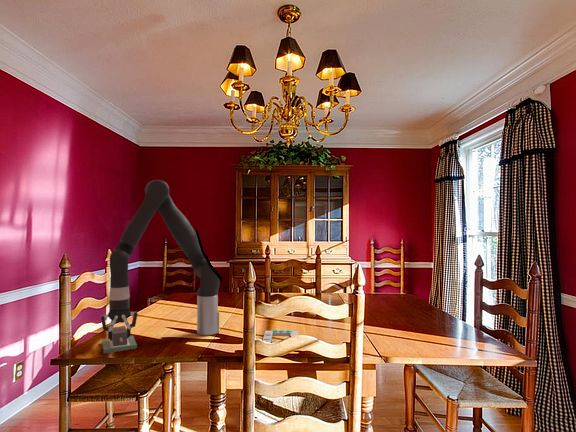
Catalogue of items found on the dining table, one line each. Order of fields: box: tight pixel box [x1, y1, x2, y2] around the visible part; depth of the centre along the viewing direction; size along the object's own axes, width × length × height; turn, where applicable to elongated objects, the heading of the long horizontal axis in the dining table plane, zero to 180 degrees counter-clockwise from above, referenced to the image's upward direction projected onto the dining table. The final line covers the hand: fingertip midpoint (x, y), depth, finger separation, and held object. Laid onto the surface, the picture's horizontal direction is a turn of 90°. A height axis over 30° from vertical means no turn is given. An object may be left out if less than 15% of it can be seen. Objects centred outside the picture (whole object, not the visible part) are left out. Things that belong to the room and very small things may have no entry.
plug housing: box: [112, 325, 127, 347], centre depth 152 cm, size 5×14×5 cm, turn 29°
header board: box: [101, 335, 138, 355], centre depth 153 cm, size 12×14×2 cm
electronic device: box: [262, 329, 299, 342], centre depth 162 cm, size 18×2×15 cm
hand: (119, 338), depth 153 cm, fingers open, 5 cm apart
